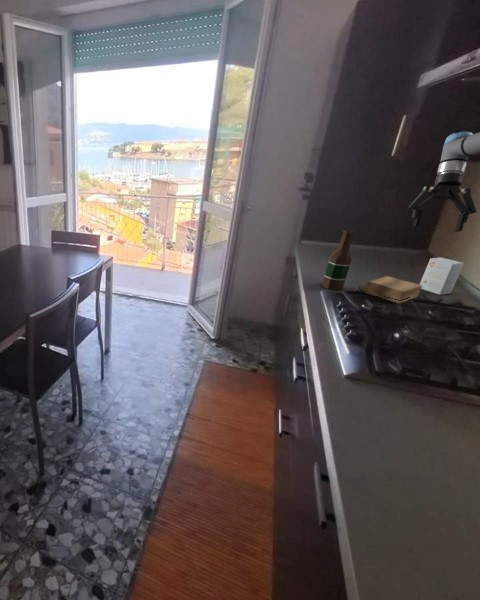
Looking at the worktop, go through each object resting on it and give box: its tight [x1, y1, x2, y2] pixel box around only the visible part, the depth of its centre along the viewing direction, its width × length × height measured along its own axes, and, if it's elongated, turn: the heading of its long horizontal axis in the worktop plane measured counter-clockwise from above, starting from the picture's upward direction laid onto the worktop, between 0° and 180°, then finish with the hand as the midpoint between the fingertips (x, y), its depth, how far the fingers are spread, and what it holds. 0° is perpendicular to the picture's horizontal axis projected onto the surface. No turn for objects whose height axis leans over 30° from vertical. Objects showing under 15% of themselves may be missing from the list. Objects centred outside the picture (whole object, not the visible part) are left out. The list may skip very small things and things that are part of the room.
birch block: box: [363, 275, 422, 304], centre depth 142 cm, size 12×14×5 cm
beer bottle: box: [321, 229, 355, 291], centre depth 146 cm, size 8×8×24 cm
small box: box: [419, 257, 465, 296], centre depth 144 cm, size 8×6×13 cm
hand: (436, 229), depth 140 cm, fingers open, 13 cm apart
